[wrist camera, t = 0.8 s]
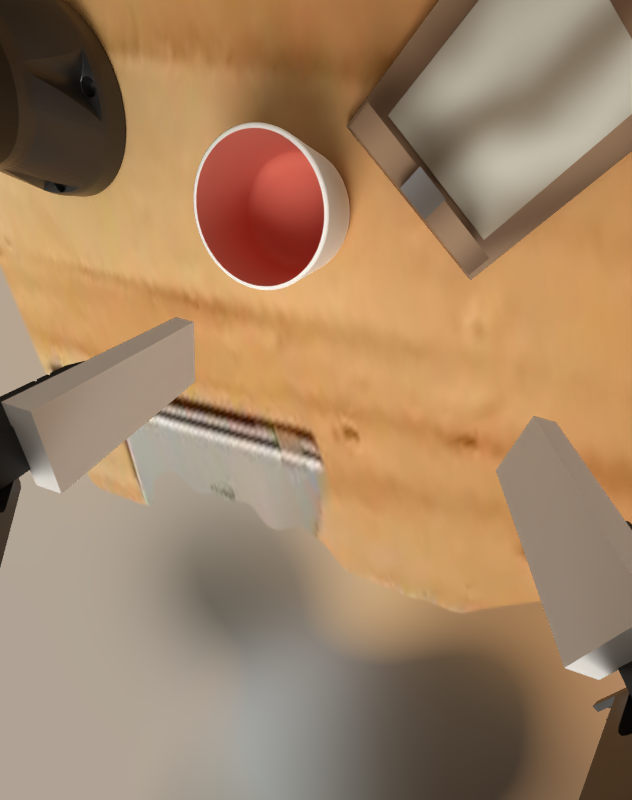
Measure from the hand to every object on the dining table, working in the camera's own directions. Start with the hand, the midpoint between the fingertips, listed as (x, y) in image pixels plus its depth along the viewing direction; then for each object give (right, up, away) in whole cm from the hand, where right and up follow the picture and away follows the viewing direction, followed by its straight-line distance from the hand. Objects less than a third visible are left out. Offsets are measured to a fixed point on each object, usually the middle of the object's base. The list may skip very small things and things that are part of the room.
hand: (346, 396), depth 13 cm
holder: (+13, +21, +11) cm, 27 cm away
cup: (-3, +18, +18) cm, 25 cm away
